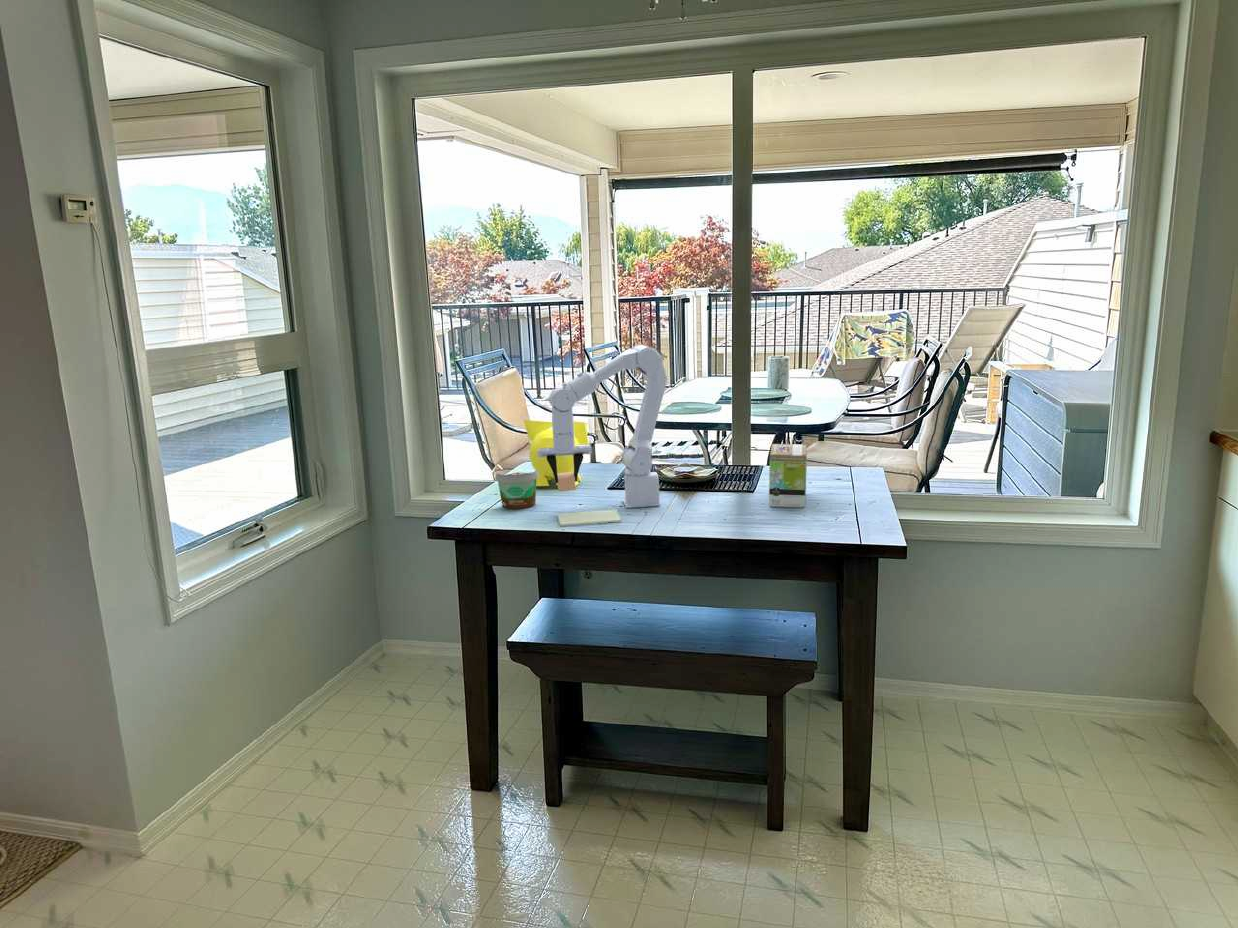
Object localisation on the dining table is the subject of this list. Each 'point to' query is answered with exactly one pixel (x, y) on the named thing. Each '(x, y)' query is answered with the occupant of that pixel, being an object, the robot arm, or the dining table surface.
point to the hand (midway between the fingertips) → (566, 481)
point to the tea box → (787, 475)
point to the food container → (517, 490)
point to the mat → (588, 517)
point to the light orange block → (566, 481)
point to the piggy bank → (545, 440)
